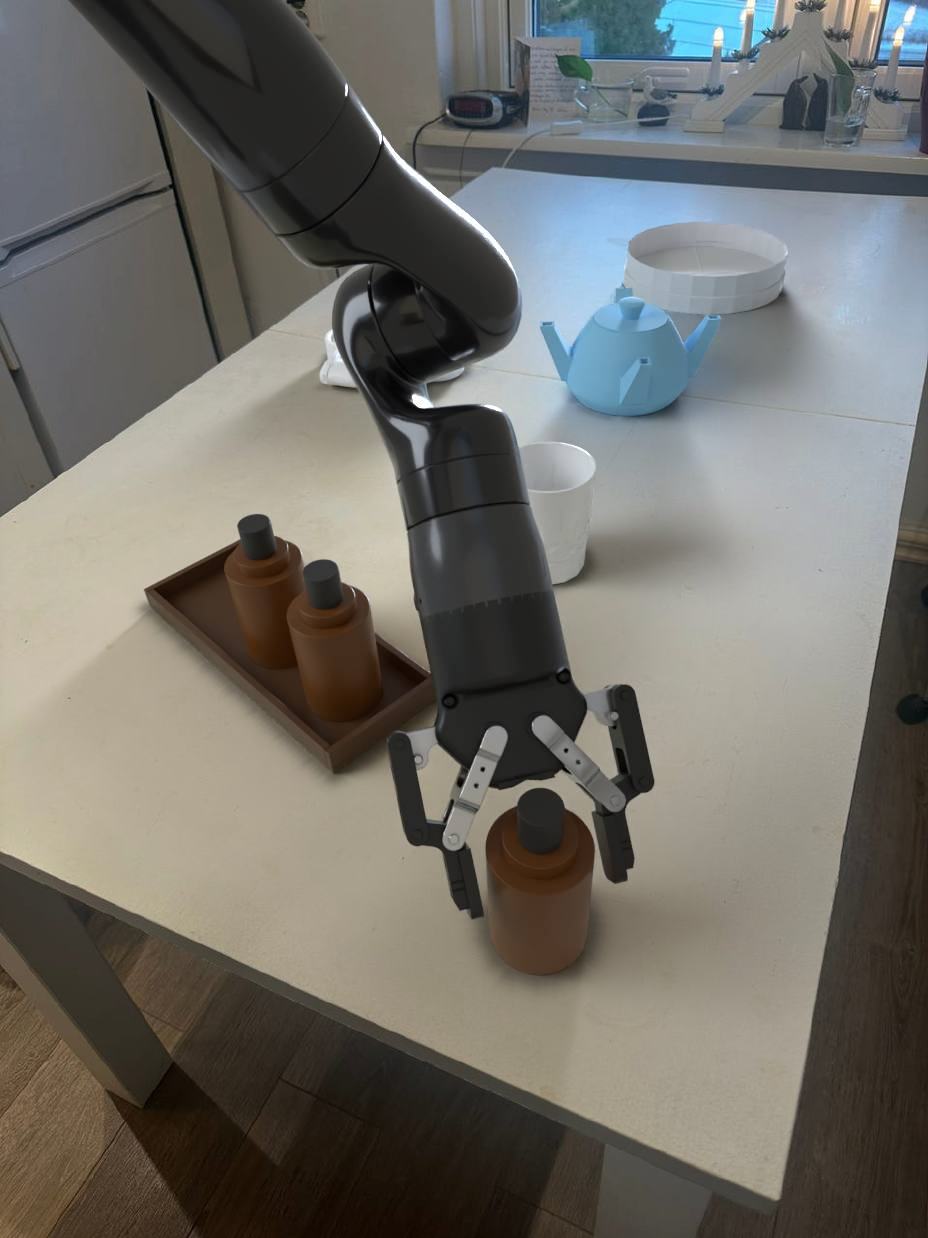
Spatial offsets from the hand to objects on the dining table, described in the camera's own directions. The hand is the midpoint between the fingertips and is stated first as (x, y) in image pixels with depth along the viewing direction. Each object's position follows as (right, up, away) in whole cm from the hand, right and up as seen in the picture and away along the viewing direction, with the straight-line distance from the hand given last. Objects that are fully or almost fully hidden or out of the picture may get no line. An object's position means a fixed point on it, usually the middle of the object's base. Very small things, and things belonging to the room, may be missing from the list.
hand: (547, 896), depth 47 cm
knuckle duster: (-14, +46, +61) cm, 78 cm away
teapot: (+14, +41, +54) cm, 70 cm away
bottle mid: (-19, +13, +24) cm, 33 cm away
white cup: (+3, +20, +31) cm, 37 cm away
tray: (-19, +13, +24) cm, 33 cm away
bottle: (0, -3, +5) cm, 6 cm away
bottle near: (-14, +9, +19) cm, 25 cm away
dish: (+29, +63, +78) cm, 104 cm away
